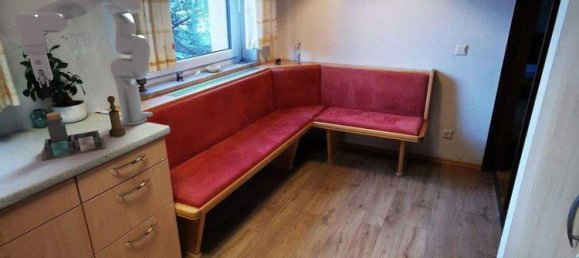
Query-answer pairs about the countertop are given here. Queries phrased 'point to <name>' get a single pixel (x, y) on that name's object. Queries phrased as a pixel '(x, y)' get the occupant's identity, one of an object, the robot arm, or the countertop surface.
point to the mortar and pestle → (115, 120)
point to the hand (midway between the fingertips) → (48, 95)
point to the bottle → (56, 128)
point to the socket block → (73, 145)
